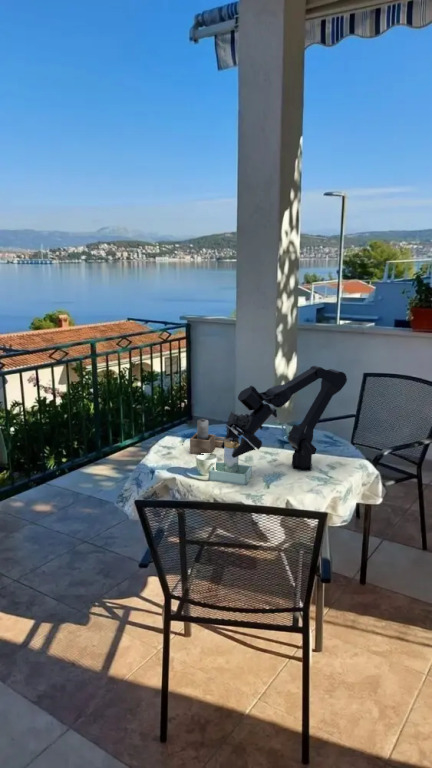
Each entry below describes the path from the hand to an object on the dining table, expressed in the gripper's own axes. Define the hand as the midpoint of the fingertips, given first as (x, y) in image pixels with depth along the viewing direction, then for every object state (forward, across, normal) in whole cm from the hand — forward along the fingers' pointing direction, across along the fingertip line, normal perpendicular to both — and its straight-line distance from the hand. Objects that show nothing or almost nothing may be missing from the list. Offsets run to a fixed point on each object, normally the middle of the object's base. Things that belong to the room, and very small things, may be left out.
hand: (227, 452), depth 170 cm
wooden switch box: (0, -33, +14) cm, 36 cm away
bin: (+6, -28, +8) cm, 29 cm away
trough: (+6, 0, +8) cm, 10 cm away
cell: (+5, 0, +7) cm, 9 cm away
